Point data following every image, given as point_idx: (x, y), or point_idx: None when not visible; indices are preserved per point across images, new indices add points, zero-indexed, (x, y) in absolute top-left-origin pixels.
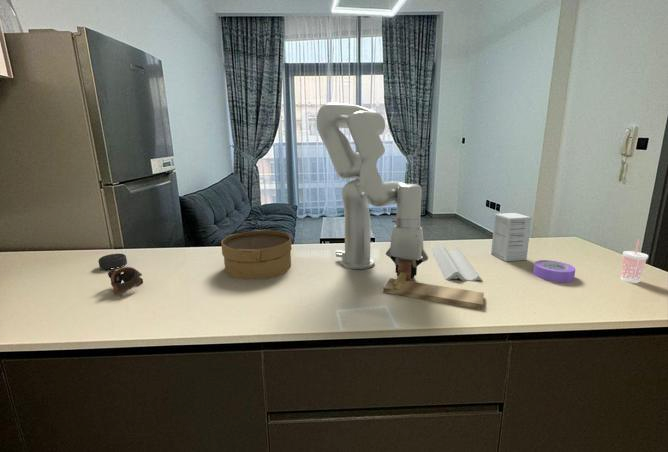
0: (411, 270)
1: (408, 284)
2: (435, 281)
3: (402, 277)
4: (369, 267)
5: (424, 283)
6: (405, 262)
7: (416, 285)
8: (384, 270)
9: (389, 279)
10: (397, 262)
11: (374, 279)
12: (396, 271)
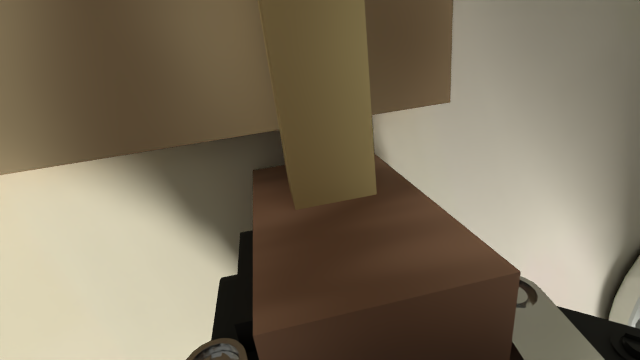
0: None
1: (195, 26)
2: (71, 339)
3: (290, 22)
4: (634, 266)
5: (41, 167)
6: (372, 320)
7: (88, 49)
8: None
9: (449, 58)
10: None
11: (567, 84)
12: None
